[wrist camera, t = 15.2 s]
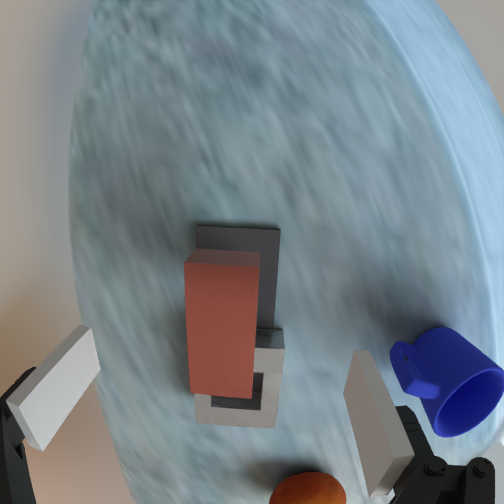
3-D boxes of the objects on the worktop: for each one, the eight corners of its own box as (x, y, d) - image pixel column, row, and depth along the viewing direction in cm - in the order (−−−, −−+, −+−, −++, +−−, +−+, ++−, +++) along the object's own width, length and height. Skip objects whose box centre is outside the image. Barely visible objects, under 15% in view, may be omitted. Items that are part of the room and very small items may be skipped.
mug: (395, 295, 28) (442, 348, 18) (471, 328, 29) (519, 374, 19) (355, 363, 30) (382, 430, 20) (434, 385, 31) (469, 439, 21)
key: (213, 323, 29) (190, 392, 19) (214, 227, 26) (184, 262, 17) (256, 327, 29) (251, 398, 19) (262, 230, 26) (259, 267, 17)
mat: (198, 224, 27) (196, 226, 26) (280, 229, 27) (280, 230, 26) (198, 319, 29) (197, 322, 29) (272, 324, 29) (273, 327, 29)
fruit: (347, 486, 36) (355, 526, 29) (283, 502, 38) (284, 541, 30) (331, 452, 34) (340, 499, 26) (257, 471, 35) (255, 517, 28)
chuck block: (198, 323, 29) (191, 342, 26) (283, 329, 29) (284, 349, 26) (201, 401, 32) (196, 422, 29) (274, 406, 32) (274, 428, 28)
